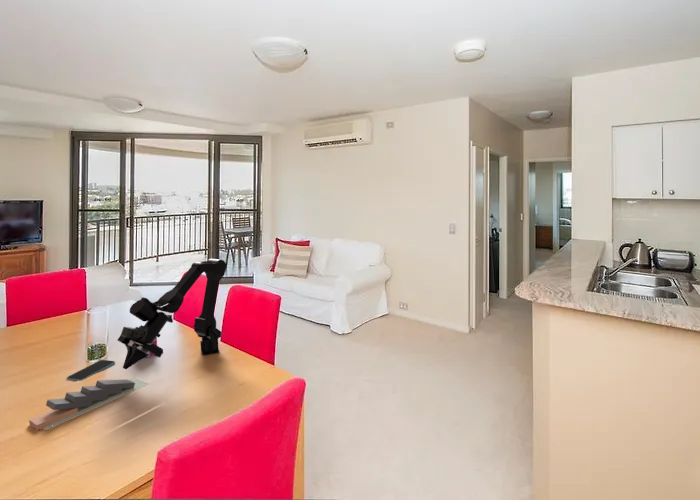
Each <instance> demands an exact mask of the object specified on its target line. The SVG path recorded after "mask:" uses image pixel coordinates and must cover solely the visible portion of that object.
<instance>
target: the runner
mask: <svg viewBox="0 0 700 500" xmlns="http://www.w3.org/2000/svg"><path fill="white" fill-rule="evenodd" d="M129 380H130V381H132V382H134V383H135V385H134V388H122V391H121V394H108V398H107V400H96V401H92V403H91V406H87V407H78V408H77V409H78V413H76V414H73V415H71V416H69V417H67V418H64V419H62V420H60V421H58V422H55V423H53V424H51V425H49V426H46V427H44V428H42V430H45V431H47V430H46V429H48V430H51V429H53V428H54V427H57V426H59V425H62V424H64V423H66V422H68V421H70V420H72V419H74V418H77V417H79V416H81V415H83V414H86V413H88V412H91V411H93V410H95V409H96V408H100V407H101V406H104V405H106V404H107V403H110V402H112V401H114V400H117V399H118V398H122V397H123V396H126V395H128V394H130V393H132V392H135V391H137V390H139V389H141V388H143V387H146V386H148V385H150V383H148V382H146V381H144V380H141V379H139V378H136V377H133V378H129ZM52 425H53V426H52ZM50 428H51V429H50Z"/></svg>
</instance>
